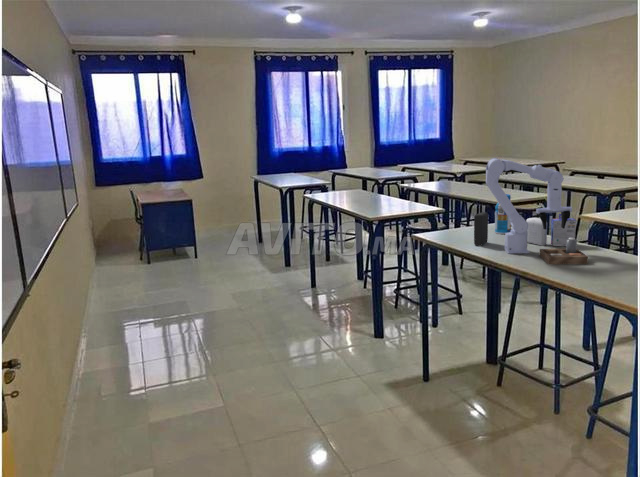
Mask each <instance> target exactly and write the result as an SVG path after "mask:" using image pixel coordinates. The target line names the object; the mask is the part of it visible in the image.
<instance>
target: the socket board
mask: <svg viewBox="0 0 640 477" xmlns="http://www.w3.org/2000/svg"><path fill="white" fill-rule="evenodd" d="M539 256H540V258H541V259H542V260H543V261H545V262H546V263H547V265H586V264H589V263H588V260H589V256H588V255H586V254H585V253H584V252H582V251H581V250H580V249H578V248H577V249H576V253H569V254H566V247H565V248H564V247H563V248H562V247H561V248H539Z"/></svg>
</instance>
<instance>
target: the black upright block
mask: <svg viewBox="0 0 640 477" xmlns="http://www.w3.org/2000/svg"><path fill="white" fill-rule="evenodd" d="M473 220H474V221H473V222H474V223H473V244H474V245H475V246H478V245H481V246H482V244H483V245H484V244H486V243H488V239H489V238H488V237H489V235H488V232H489V214H488V212H485V211H484V212H483V211H482V212H479V213H477V214H475V215H474V217H473Z"/></svg>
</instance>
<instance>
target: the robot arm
mask: <svg viewBox="0 0 640 477" xmlns="http://www.w3.org/2000/svg"><path fill="white" fill-rule="evenodd" d="M511 170H513V171H516V172H520V173H524V174H527V175H529V177H530V178H531V179H534V180H538V181H541V182H545V183H546V182H547V189H546V190H547V193H546V195H547V196H546V197H547V198H546V199H547V200H546V207H541V208H536V210H535V211H536V214H538V216H539V218H540V219H541V221H542V224H543V229H546V222H547V219H548V215H547V214H550V213H551V214H552V213H554V214H555V213H560V214H561V216H560V217H562V223H561V227H562V228H563V229H564V228H565V224H566V222H567V219H568V218H570V217H571V213H572V212H573V207H572V206H562V192H563V188H562V183H563V181H564V176H563V174H562V173H561V172H560V171H558V170H555V169H553V168H551V167H550V168H546V167H544V166H542V165H541V164H538V165H537V164H535V165H533V166H529V165H525V164H523V163H519V162H516V161H513V160H510V159H509V160H508V159H503V158H497V157H492V158H490V159H489V161H487V165H486V167H485V184H486V186H487V187H488V189H489V190H490V192H491V193H492V195H493V196H494V198H495V200H496V201H498V202H499V204H500V205H501V207H502V208H503V210H504V211H505V213H506V215H507V216H508V218H509V219H510V223H511V232H509V233H505V234H504V251H505V252H506V253H507V254H530V253H531V252H530V250H528V242H527V236H528V231H527V229H528V223H527V222H526V219H525V218H524V217H523V216H521V215H520V214H519V212H518V211H517V209H516V208H515V206H514V204H513V203H512V202H511V199H510V200H509V199H508V197H507V196H506V194H507V193H505V191H504V190H503V188H502V186H501V185H500V183H499V180H500V176H501V175H502V174H503V172H508V171H511ZM498 202H497V203H498Z"/></svg>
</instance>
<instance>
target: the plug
mask: <svg viewBox="0 0 640 477" xmlns="http://www.w3.org/2000/svg"><path fill="white" fill-rule="evenodd" d="M565 248H566V254H569V253H576V249H578V240H577V239H576V237H575V238H569V239H567V240H566V246H565Z"/></svg>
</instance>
